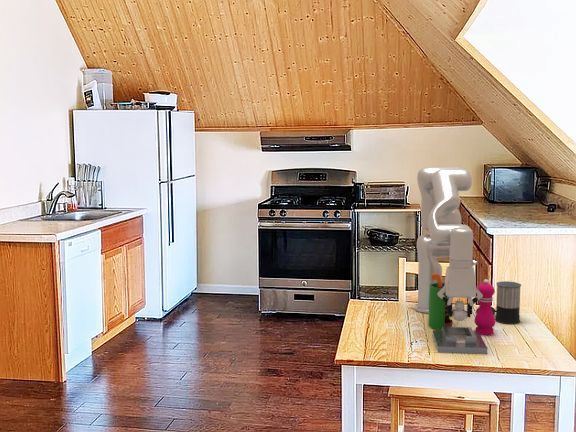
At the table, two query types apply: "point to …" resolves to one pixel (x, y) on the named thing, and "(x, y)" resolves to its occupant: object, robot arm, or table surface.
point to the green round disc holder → (438, 306)
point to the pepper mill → (485, 310)
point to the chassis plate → (459, 340)
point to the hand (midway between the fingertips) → (459, 315)
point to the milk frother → (507, 303)
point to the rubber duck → (459, 311)
